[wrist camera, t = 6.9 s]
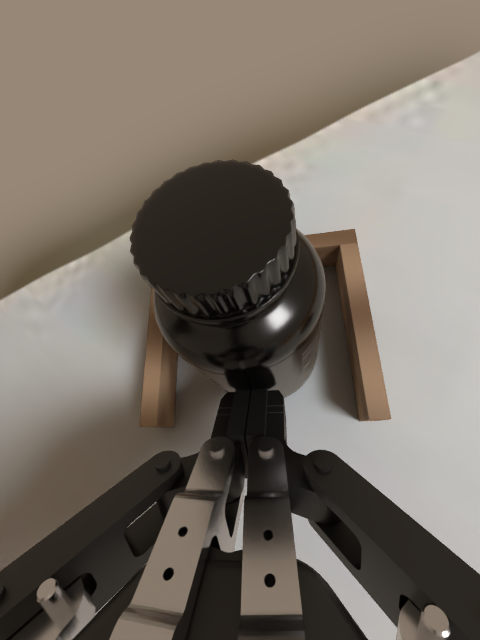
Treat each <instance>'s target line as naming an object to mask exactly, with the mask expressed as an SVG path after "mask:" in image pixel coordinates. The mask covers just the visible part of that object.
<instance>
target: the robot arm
mask: <svg viewBox="0 0 480 640" xmlns="http://www.w3.org/2000/svg"><path fill="white" fill-rule="evenodd" d="M245 478H248V480H247V496H245V499H244V525H243V550H239V551H235V541H236V535H237V530H238V525H239V520H240V514H241V509H242V504H243V498H244V491H243V488H244V479H245ZM155 502H157V503H156V504H155V505H153V506H152V507H151V508H150V509H149V510H148V511H146V510H147V509H148V508H149V507H150V506H151V505H152V504H154V503H155ZM144 511H146V512H145V513H144V514H143V515H142V516H141V517H140V518H138V519H137V520H136V521H135V522H134V523H133V524H131V523H132V522H133V521H134V520H135V519H136V518H137V517H139V516H140V515H141V514H142V513H143V512H144ZM291 513H294V514H297V515H299V516H302V517H305V518H307V519H308V521H309V523H310V525H311V526H312V527H313V528H314V530H315V531H316V532H317V533H318V534H319V536H320V537H321V538H322V539H323V540H324V541H325V543H326V544H327V545H328V546H329V547H330V549H331V550H332V551H333V552H334V553H335V555H336V556H337V557H338V558H339V559H340V560H341V562H342V563H343V564H344V565H345V566H346V568H347V569H348V570H349V571H350V572H351V573H352V575H353V576H354V577H355V578H356V579H357V581H358V582H359V583H360V584H361V585H362V587H363V588H364V589H365V590H366V591H367V592H368V594H369V595H370V596H371V597H372V598H373V600H374V601H375V602H376V603H377V604H378V605H379V607H380V608H381V609H382V610H383V611H384V613H385V614H386V615H387V616H388V617H389V618H390V620H391V621H392V622H393V623H394V624H395V626H396V627H397V635H396V640H480V574H479V573H477V572H476V571H475V570H474V569H473V568H471V567H470V566H469V565H468V564H467V563H465V562H464V561H463V560H462V559H461V558H459V557H458V556H457V555H456V554H455V553H453V552H452V551H451V550H450V549H448V548H447V547H446V546H445V545H444V544H442V543H441V542H440V541H439V540H438V539H436V538H435V537H434V536H433V535H432V534H430V533H429V532H428V531H427V530H426V529H424V528H423V527H422V526H421V525H420V524H418V523H417V522H416V521H415V520H414V519H412V518H411V517H410V516H409V515H408V514H406V513H405V512H404V511H403V510H402V509H400V508H399V507H398V506H397V505H396V504H394V503H393V502H392V501H391V500H390V499H388V498H387V497H386V496H385V495H384V494H382V493H381V492H380V491H379V490H378V489H376V488H375V487H374V486H373V485H372V484H370V483H369V482H368V481H367V480H366V479H364V478H363V477H362V476H361V475H360V474H358V473H357V472H356V471H355V470H354V469H352V468H351V467H350V466H349V465H348V464H346V463H345V462H344V461H343V460H342V459H340V458H339V457H338V456H337V455H335V454H334V453H332V452H329V451H326V450H316V451H313V452H311V453H309V454H308V455H307V456H305V455H302V454H298V453H296V452H294V451H292V450H291V449H290V448H289V447H288V446H287V434H286V416H285V406H284V397H283V395H282V394H281V392H280V391H279V390H268V389H267V388H263V389H255V390H239V389H235V392H227V393H226V394H225V395H224V397H223V398H222V399H221V402H220V405H219V409H218V413H217V417H216V421H215V424H214V428H213V432H212V436H211V439H209V440H208V441H206V442H205V443H204V444H203V446H202V448H201V450H200V452H198V453H196V454H194V455H191V456H187V457H184V458H180V456H179V455H178V453H176V452H174V451H163V452H160V453H158V454H156V455H155V456H153V457H152V458H151V459H149V460H148V461H147V462H145V463H144V464H143V465H141V466H140V467H139V468H137V469H136V470H135V471H133V472H132V473H131V474H129V475H128V476H127V477H125V478H124V479H123V480H121V481H120V482H119V483H117V484H116V485H115V486H113V487H112V488H111V489H109V490H108V491H107V492H105V493H104V494H103V495H101V496H100V497H99V498H97V499H96V500H95V501H93V502H92V503H91V504H89V505H88V506H87V507H85V508H84V509H83V510H81V511H80V512H79V513H77V514H76V515H75V516H73V517H72V518H71V519H69V520H68V521H67V522H65V523H64V524H63V525H61V526H60V527H59V528H57V529H56V530H55V531H53V532H52V533H51V534H49V535H48V536H47V537H45V538H44V539H43V540H41V541H40V542H39V543H37V544H36V545H35V546H33V547H32V548H31V549H29V550H28V551H27V552H25V553H24V554H23V555H21V556H20V557H19V558H17V559H16V560H15V561H13V562H12V563H11V564H10V565H8V566H7V567H6V568H4V569H3V570H2V571H0V640H368V639H367V638H366V636H365V635H364V633H363V632H362V631H361V629H360V628H359V626H358V625H357V624H356V622H355V621H354V619H353V618H352V616H351V615H350V614H349V612H348V611H347V609H346V608H345V607H344V605H343V604H342V602H341V601H340V600H339V598H338V597H337V595H336V594H335V593H334V591H333V590H332V588H331V587H330V586H329V584H328V583H327V582H326V581H325V580H324V579H323V578H322V576H321V575H320V574H319V573H317V572H316V571H315V570H314V569H313V568H311V567H310V566H309V565H307V564H306V563H304V562H302V561H300V560H298V559H296V552H295V543H294V534H293V526H292V517H291ZM130 524H131V525H130ZM129 525H130V526H129ZM128 526H129V527H128ZM127 527H128V528H127ZM146 563H147V564H146ZM145 564H146V565H145ZM144 565H145V566H144ZM143 566H144V567H143ZM120 589H121V590H120ZM119 590H120V591H119ZM118 591H119V592H118ZM117 592H118V593H117ZM116 593H117V594H116ZM115 594H116V595H115ZM114 595H115V596H114ZM113 596H114V597H113ZM112 597H113V598H112ZM111 598H112V599H111ZM110 599H111V600H110ZM109 600H110V601H109ZM108 601H109V602H108ZM107 602H108V603H107ZM105 603H107V604H106V605H105V606H104V607H103V608H102V609H101V610H100V611H99V612H98V613H97V614H96V615H95V613H96V612H97V611H98V610H99V609H100V608H101V607H102V606H103V605H104V604H105Z"/></svg>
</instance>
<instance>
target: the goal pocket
mask: <svg viewBox="0 0 480 640" xmlns="http://www.w3.org/2000/svg"><path fill="white" fill-rule="evenodd" d="M304 236H305V237H306V238H307V239H308V240H309V241H310V243H311V244H312V245H313V247H314V248H315V250H316V251H317V253H318V255H319V257H320V260H321V262H322V265H323V267H330V266H335V267H336V273H337V280H338V286H339V293H340V299H341V306H342V312H343V318H344V325H345V331H346V338H347V344H348V350H349V357H350V363H351V370H352V376H353V382H354V389H355V395H356V402H357V408H358V414H359V421H379V420H388V419H391V415H390V410H389V405H388V399H387V394H386V389H385V384H384V379H383V373H382V368H381V363H380V358H379V353H378V347H377V342H376V337H375V332H374V326H373V321H372V316H371V311H370V306H369V300H368V295H367V290H366V285H365V280H364V274H363V269H362V264H361V259H360V253H359V248H358V243H357V238H356V233H355V229H350V230H342V231H335V232H327V233H319V234H311V235H304ZM153 292H154V290H153V289H152V291H151V302H150V313H149V325H148V336H147V347H146V359H145V370H144V381H143V393H142V404H141V415H140V427H174V421H175V401H176V381H177V361H178V353H177V352H176V351H175V350H174V349H173V348H172V347H171V346H170V345H169V344H168V343H167V341H166V340H165V338H164V337H163V335H162V333H161V331H160V329H159V327H158V324H157V321H156V317H155V313H154V306H153Z"/></svg>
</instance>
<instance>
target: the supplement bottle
mask: <svg viewBox="0 0 480 640" xmlns="http://www.w3.org/2000/svg"><path fill="white" fill-rule="evenodd" d="M130 241H131V243H132V244H131V249H130V252H131V254H132V255H133V257H134V265H135V266H136V268H137V269H138V270H139V271H140V274H141V276H142V278H143V279H144V280H145V281H146V282H147V283H148V284H149V286H150V287H151V288H152V289H153V290H154V292H153V306H154V313H155V317H156V321H157V324H158V327H159V329H160V331H161V333H162V335H163V337H164V338H165V340H166V341H167V343H168V344H169V345H170V346H171V347H172V348H173V349H174V350H175V351H176V352H177V353H178V354H179V355H180V356H181V357H182V358H183V359H185V360H186V361H187V362H189V363H190V364H191V365H193V366H194V367H195V368H197V369H198V370H199V371H201V372H202V373H203V374H205V375H206V376H207V377H209V378H210V379H211V380H213V381H214V382H215V383H217V384H218V385H220V386H221V387H222V388H224V389H225V390H226V391H228V392H235V389H239V390H255V389H263V388H267V389H268V390H279V391H280V392H281V394H282V395H283V397H284V398H285V397H287V396H289V395H291V394H292V393H294V392H295V391H297V390H298V389H299V388H300V387H301V386H302V385H303V384H304V383H305V382H306V381H307V379H308V378H309V376H310V375H311V373H312V371H313V369H314V366H315V363H316V359H317V355H318V349H319V342H320V334H321V327H322V320H323V312H324V305H325V295H326V282H325V273H324V269H323V265H322V262H321V260H320V257H319V255H318V253H317V251H316V250H315V248H314V247H313V245H312V244H311V243H310V241H309V240H308V239H307V238H306V237H305V236H304V235H303V234H302V233H301V232H300V231H299V230H298V229H296V220H295V208H294V204H293V202H292V200H291V199H290V193H289V190H288V189H286V188H285V187H284V186H283V184H282V181H281V179H279V178H277V177H274V175H273V173H272V171H268V170H265V169H263V168H262V167H261V166H260V165H253V164H250V163H249V162H247V161H243V162H239V161H236V160H228V161H221V160H217V161H214V162H212V163H202V164H200V165H198V166H194V167H189V168H188V169H186V170H185V171H183V172H179V173H177V174H176V175H174V176H173V177H172V178H171V179H169V180H166V181H164V183H163V184H162V185H161V186H160V187H159V188H157V189H156V190H154V191H153V193H152V195H151V196H150V197H149V198H148V199H147V200H145V201H144V204H143V206H142V208H141V209H140V210H139V212H138V213H137V216H136V220H135V222H134V223H133V225H132V234H131V236H130Z"/></svg>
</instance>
